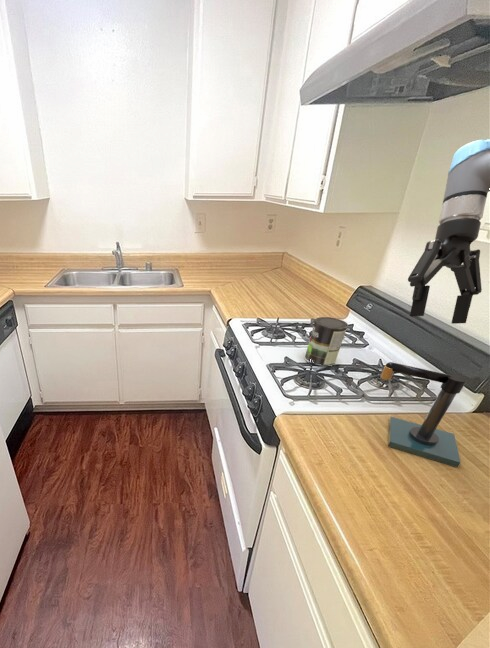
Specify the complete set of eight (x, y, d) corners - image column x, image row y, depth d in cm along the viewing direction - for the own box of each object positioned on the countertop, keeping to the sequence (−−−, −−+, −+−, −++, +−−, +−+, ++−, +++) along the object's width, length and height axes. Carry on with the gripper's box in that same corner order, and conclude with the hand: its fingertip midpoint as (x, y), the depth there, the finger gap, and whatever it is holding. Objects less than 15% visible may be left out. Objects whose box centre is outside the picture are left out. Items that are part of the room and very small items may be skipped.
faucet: (451, 438, 87) (483, 387, 78) (457, 467, 78) (494, 413, 70) (388, 420, 92) (412, 371, 84) (387, 446, 83) (414, 393, 75)
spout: (457, 391, 78) (466, 375, 75) (459, 398, 75) (468, 382, 73) (380, 373, 84) (386, 358, 82) (380, 379, 81) (386, 364, 79)
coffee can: (306, 365, 118) (318, 326, 110) (302, 353, 126) (312, 315, 119) (338, 368, 117) (352, 329, 109) (331, 355, 125) (343, 318, 117)
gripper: (478, 238, 84) (457, 326, 87) (401, 216, 77) (382, 313, 80) (516, 229, 77) (492, 325, 80) (436, 204, 70) (414, 311, 73)
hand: (438, 320), depth 80 cm, fingers open, 13 cm apart
